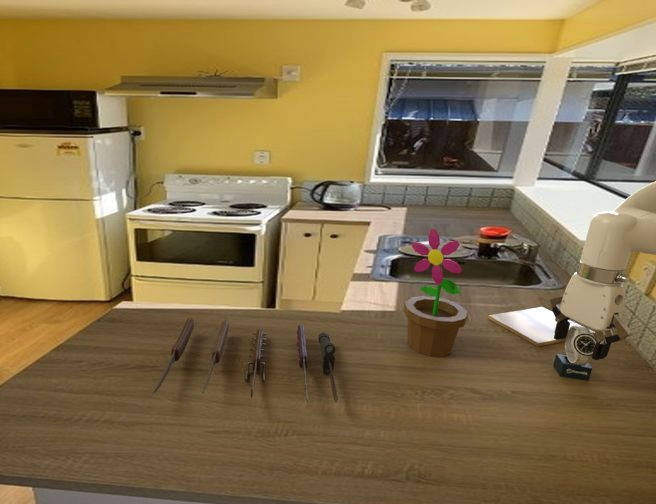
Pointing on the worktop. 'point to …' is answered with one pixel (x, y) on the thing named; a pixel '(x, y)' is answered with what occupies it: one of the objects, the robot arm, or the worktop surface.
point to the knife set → (256, 354)
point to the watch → (576, 354)
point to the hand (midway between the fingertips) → (578, 347)
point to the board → (532, 325)
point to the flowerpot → (435, 303)
